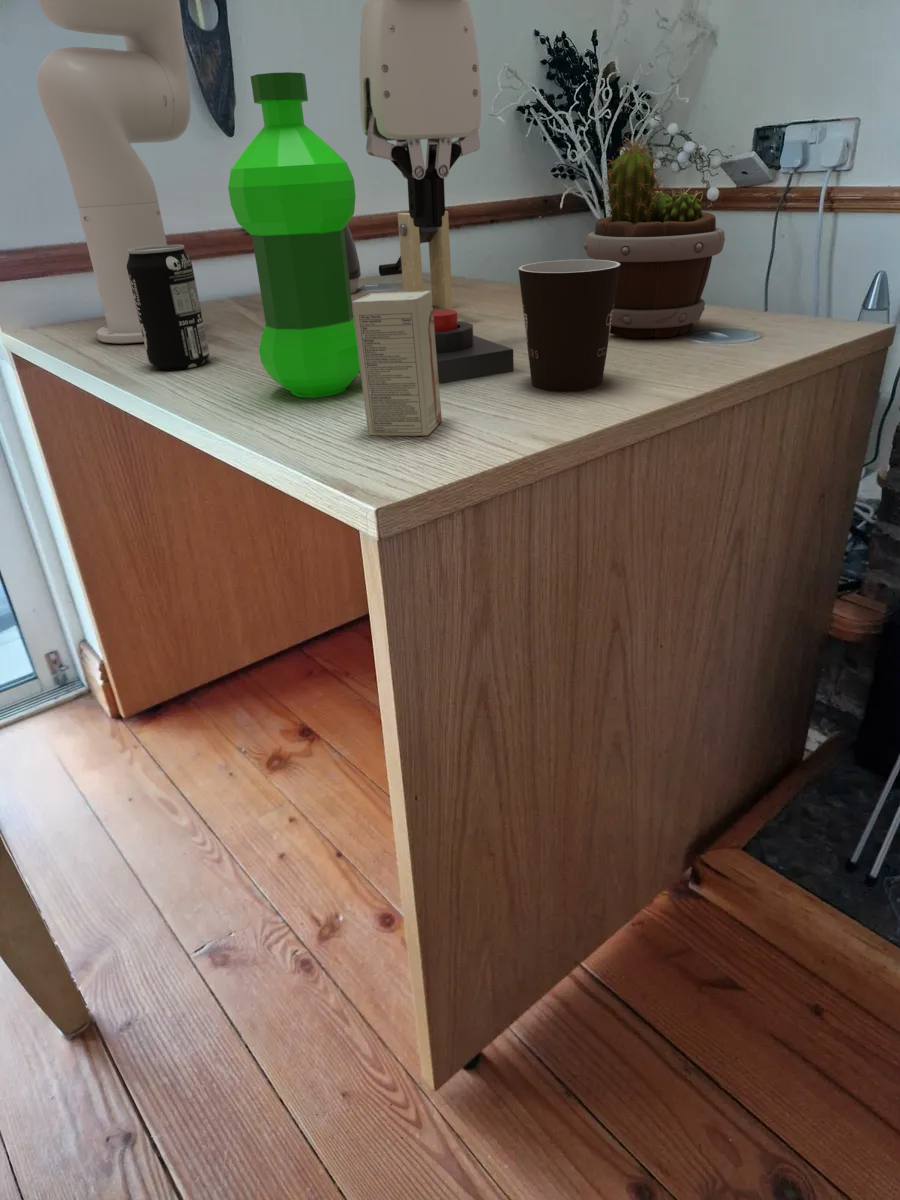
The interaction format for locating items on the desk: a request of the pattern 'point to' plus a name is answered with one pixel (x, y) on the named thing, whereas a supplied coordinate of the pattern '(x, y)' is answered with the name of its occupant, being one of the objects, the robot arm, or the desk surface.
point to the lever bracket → (438, 260)
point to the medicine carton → (398, 362)
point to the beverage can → (168, 306)
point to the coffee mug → (568, 321)
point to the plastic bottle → (298, 242)
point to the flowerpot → (653, 249)
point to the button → (445, 320)
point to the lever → (396, 268)
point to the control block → (469, 355)
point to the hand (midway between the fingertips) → (427, 226)
